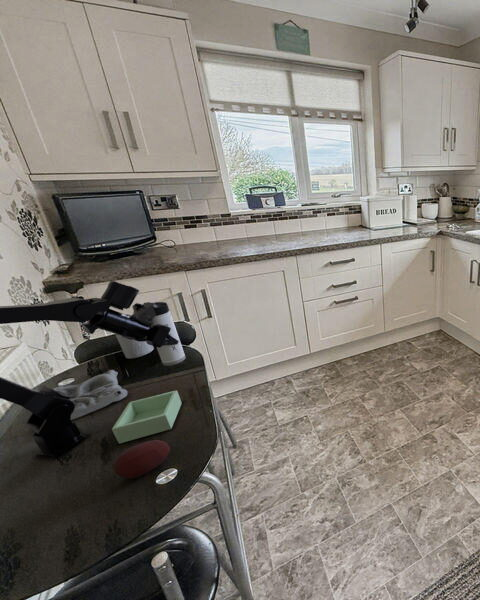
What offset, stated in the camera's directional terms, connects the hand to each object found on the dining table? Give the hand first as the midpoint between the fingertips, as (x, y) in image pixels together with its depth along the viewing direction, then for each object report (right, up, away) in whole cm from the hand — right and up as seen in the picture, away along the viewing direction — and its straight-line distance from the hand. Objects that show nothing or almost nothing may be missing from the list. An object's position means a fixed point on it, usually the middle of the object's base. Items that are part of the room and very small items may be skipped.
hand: (172, 341), depth 104 cm
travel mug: (0, -7, +1) cm, 7 cm away
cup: (-31, -8, +26) cm, 41 cm away
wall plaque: (-26, -18, -1) cm, 31 cm away
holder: (+5, -20, -15) cm, 26 cm away
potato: (+16, -25, -30) cm, 42 cm away
